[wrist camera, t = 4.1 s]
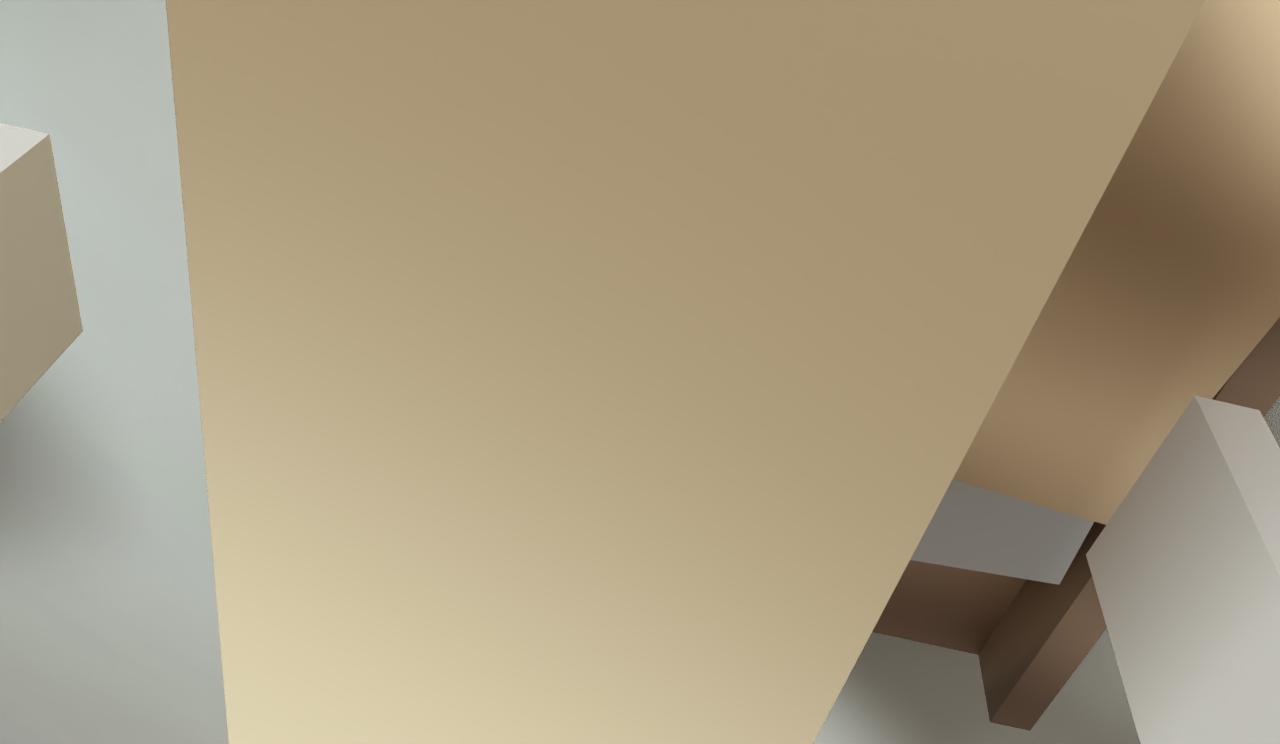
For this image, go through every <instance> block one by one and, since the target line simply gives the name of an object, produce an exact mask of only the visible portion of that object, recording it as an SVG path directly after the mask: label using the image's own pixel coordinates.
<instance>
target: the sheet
mask: <svg viewBox="0 0 1280 744" xmlns="http://www.w3.org/2000/svg"><path fill="white" fill-rule="evenodd" d="M1204 2H1205V0H166V9H167V21H168V33H169V45H170V56H171V68H172V80H173V92H174V103H175V115H176V127H177V139H178V150H179V162H180V174H181V186H182V198H183V209H184V221H185V233H186V245H187V256H188V268H189V280H190V292H191V303H192V315H193V327H194V339H195V351H196V362H197V374H198V386H199V398H200V409H201V421H202V433H203V445H204V457H205V468H206V480H207V492H208V504H209V515H210V527H211V539H212V551H213V562H214V574H215V586H216V598H217V609H218V621H219V633H220V645H221V657H222V668H223V680H224V692H225V704H226V715H227V727H228V739H229V744H813V743H814V741H815V739H816V737H817V735H818V733H819V731H820V730H821V728H822V726H823V724H824V722H825V720H826V718H827V716H828V714H829V713H830V711H831V709H832V707H833V705H834V703H835V701H836V699H837V697H838V695H839V694H840V692H841V690H842V688H843V686H844V684H845V682H846V680H847V678H848V676H849V675H850V673H851V671H852V669H853V667H854V665H855V663H856V661H857V659H858V658H859V656H860V654H861V652H862V650H863V648H864V646H865V644H866V642H867V640H868V639H869V637H870V635H871V633H872V631H873V629H874V627H875V625H876V623H877V622H878V620H879V618H880V616H881V614H882V612H883V610H884V608H885V606H886V604H887V603H888V601H889V599H890V597H891V595H892V593H893V591H894V589H895V587H896V586H897V584H898V582H899V580H900V578H901V576H902V574H903V572H904V570H905V568H906V567H907V565H908V563H909V561H910V559H911V557H912V555H913V553H914V551H915V550H916V548H917V546H918V544H919V542H920V540H921V538H922V536H923V534H924V532H925V531H926V529H927V527H928V525H929V523H930V521H931V519H932V517H933V515H934V514H935V512H936V510H937V508H938V506H939V504H940V502H941V500H942V498H943V496H944V495H945V493H946V491H947V489H948V487H949V485H950V483H951V481H952V479H953V478H954V476H955V474H956V472H957V470H958V468H959V466H960V464H961V462H962V460H963V459H964V457H965V455H966V453H967V451H968V449H969V447H970V445H971V443H972V442H973V440H974V438H975V436H976V434H977V432H978V430H979V428H980V426H981V424H982V423H983V421H984V419H985V417H986V415H987V413H988V411H989V409H990V407H991V406H992V404H993V402H994V400H995V398H996V396H997V394H998V392H999V390H1000V388H1001V387H1002V385H1003V383H1004V381H1005V379H1006V377H1007V375H1008V373H1009V371H1010V370H1011V368H1012V366H1013V364H1014V362H1015V360H1016V358H1017V356H1018V354H1019V352H1020V351H1021V349H1022V347H1023V345H1024V343H1025V341H1026V339H1027V337H1028V335H1029V334H1030V332H1031V330H1032V328H1033V326H1034V324H1035V322H1036V320H1037V318H1038V316H1039V315H1040V313H1041V311H1042V309H1043V307H1044V305H1045V303H1046V301H1047V299H1048V297H1049V296H1050V294H1051V292H1052V290H1053V288H1054V286H1055V284H1056V282H1057V280H1058V279H1059V277H1060V275H1061V273H1062V271H1063V269H1064V267H1065V265H1066V263H1067V261H1068V260H1069V258H1070V256H1071V254H1072V252H1073V250H1074V248H1075V246H1076V244H1077V243H1078V241H1079V239H1080V237H1081V235H1082V233H1083V231H1084V229H1085V227H1086V225H1087V224H1088V222H1089V220H1090V218H1091V216H1092V214H1093V212H1094V210H1095V208H1096V207H1097V205H1098V203H1099V201H1100V199H1101V197H1102V195H1103V193H1104V191H1105V189H1106V188H1107V186H1108V184H1109V182H1110V180H1111V178H1112V176H1113V174H1114V172H1115V171H1116V169H1117V167H1118V165H1119V163H1120V161H1121V159H1122V157H1123V155H1124V153H1125V152H1126V150H1127V148H1128V146H1129V144H1130V142H1131V140H1132V138H1133V136H1134V135H1135V133H1136V131H1137V129H1138V127H1139V125H1140V123H1141V121H1142V119H1143V117H1144V116H1145V114H1146V112H1147V110H1148V108H1149V106H1150V104H1151V102H1152V100H1153V99H1154V97H1155V95H1156V93H1157V91H1158V89H1159V87H1160V85H1161V83H1162V81H1163V80H1164V78H1165V76H1166V74H1167V72H1168V70H1169V68H1170V66H1171V64H1172V63H1173V61H1174V59H1175V57H1176V55H1177V53H1178V51H1179V49H1180V47H1181V45H1182V44H1183V42H1184V40H1185V38H1186V36H1187V34H1188V32H1189V30H1190V28H1191V26H1192V25H1193V23H1194V21H1195V19H1196V17H1197V15H1198V13H1199V11H1200V9H1201V8H1202V6H1203V4H1204Z"/></svg>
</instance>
